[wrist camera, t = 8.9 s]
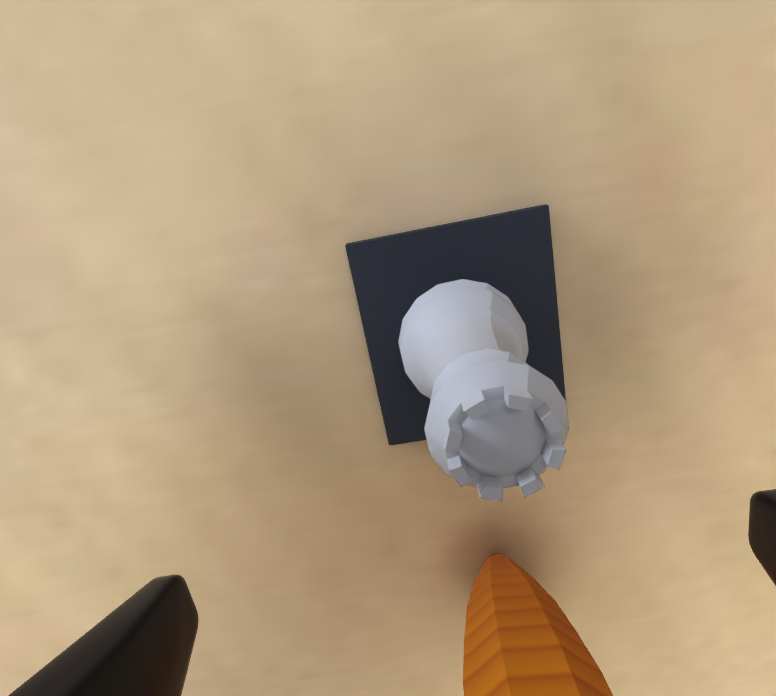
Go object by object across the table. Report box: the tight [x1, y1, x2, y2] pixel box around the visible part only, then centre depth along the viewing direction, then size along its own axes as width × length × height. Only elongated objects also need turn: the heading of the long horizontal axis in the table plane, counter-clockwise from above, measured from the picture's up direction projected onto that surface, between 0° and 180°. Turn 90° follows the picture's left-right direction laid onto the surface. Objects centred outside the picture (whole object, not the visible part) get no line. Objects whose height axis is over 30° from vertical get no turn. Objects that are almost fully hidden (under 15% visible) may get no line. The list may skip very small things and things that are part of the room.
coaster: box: [346, 205, 566, 445], centre depth 18 cm, size 8×7×1 cm
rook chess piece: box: [398, 279, 569, 501], centre depth 14 cm, size 4×4×8 cm
